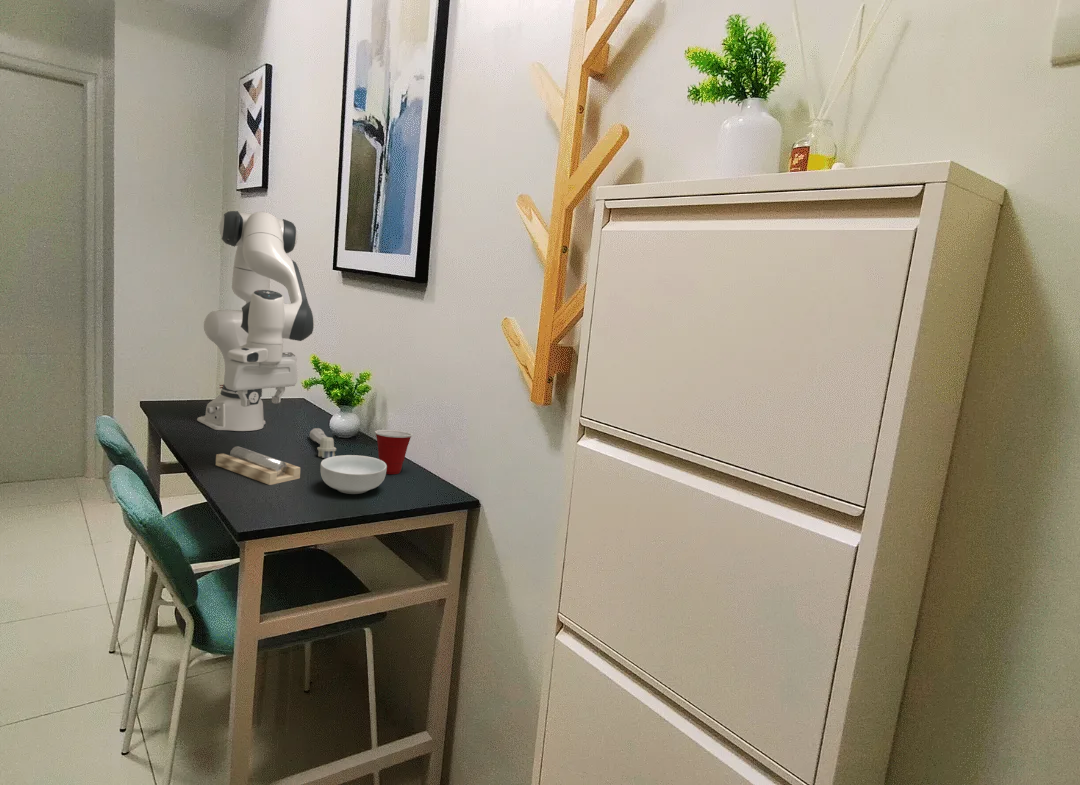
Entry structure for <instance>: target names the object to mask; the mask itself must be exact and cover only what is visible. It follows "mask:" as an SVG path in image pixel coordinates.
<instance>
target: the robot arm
mask: <svg viewBox="0 0 1080 785" xmlns="http://www.w3.org/2000/svg"><path fill="white" fill-rule="evenodd" d="M218 227H219V228H218V230H219V234H220V237H221V240H222V241H223V243H224V244H226V245H229V246H231V247H236V251H235V255H234V261H233V268H232V269H233V270H232V271H233V272H232V280H231V289H232V292H233V293H234V295H235V296H237V297H238V298H240V299H241V300H243V301H244V302H245V304H244V305H243V306H242V307H241V310H240V309H220V310H219V309H218V310H214V311H213V310H212V311H210V312H208V314H207V315H206V317H205V319H204V322H203V332H204V334H205V336H206V337H207V338H208V339H209V340H210V341H211V342H213V344H215V346H217V348H218V349H219V350H220V352H221V355H222V357H223V361H224V377H223V384H219V389H221V390H220V392H219V393H220V394H219V395H218V396H216V397H215V398H214V399H212V400H210V401H209V402H208V403H207V404H206V407H205V415H201V416H199V417H197V419H196V421H198V422H199V423H201V424H203V425H205V426H207V427H209V428H211V429H212V430H215V431H235V432H250V431H258V430H261V429H263V428H265V426H264V425H266V420H265V419H264V403H263V400H262V399H261V397H262V396H263V389H272V388H275V390H276V391H275V393H274V395H272V396H271V403H273V404H280V403H281V399H282V397H283V394H285V391H286V388H287V387H294V386H296V385H297V383H298V366H297V360H298V359H297V358H298V357H297V356H296V355H295V354H294V353H293V352H289V351H288V352H283V348H284V339H288V340H292V341H297V342H302V341H304V340H306V339H307V338H308V337H310V336H311V335H312V334H313V331H314V327H315V318H314V314H313V311H312V308H311V307H310V305H309V304H310V303H309V301H308V297H307V293H306V290H305V286H304V283H303V279H302V275H301V272H300V269H299V267H298V264H297V262H296V261H295V260H293V259H292V258H290V256H289V255H288V254H289V253H291V252H293V251H294V248H295V247H296V246H297V243H298V232H297V228H296V225H295V223H294V222H292V221H290V220H287V219H283V218H282V219H281V218H278V217H276V216H274V215H273V213H270V212H268V211H266V212H265V211H257V212H254V213H252V212H251V213H250V212H239V211H238V210H229V211H226V212H225V213H224V214H223V216H222V217H221V219H220V222H219V226H218ZM271 280H272V281H275V282H277V283H279V284H281V285H282V286H284V287H285V288H286V290H287V293H288V297H289V301H290V303H285V298H284V295H283V294H282V293H280V292H278V291H275V290H270V282H271Z"/></svg>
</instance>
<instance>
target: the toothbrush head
mask: <svg viewBox="0 0 1080 785" xmlns="http://www.w3.org/2000/svg"><path fill="white" fill-rule="evenodd" d="M308 436H309V438H310V439H311V440H312V441H313V442H315V443H318V445H319V446H318V447H317V449H316V450H317V452H318V453H317V457H319V458H322V459H323V458H324V459H326V458H329V457H333V456H336V451H337V448H336V447H335V443H334V442H335V440H334V438H333V437H329V436H327V435H326V434H325V432H324V430H323V429H321V428H319V427H317V428H315V427H314V428H312V429H311V430H310V431H309V435H308Z"/></svg>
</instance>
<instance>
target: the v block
mask: <svg viewBox="0 0 1080 785" xmlns="http://www.w3.org/2000/svg"><path fill="white" fill-rule="evenodd" d="M284 462H285V463H286V465H287V469H286V472H285V473H284V474H283V475H282V476H277V472H274V471H272V470H269V469H266V468H263V467H260V466H257V465H255V464H252V463H249V462H246V461H243V460H240V459H238V458H235V457H232V456H230V454H226V453H223V452H222V453H218V454H217V453H216V454H215V466H217V467H219V468H223V469H225V470H227V471H231V472H233V473H236V474H239V475H241V476H244V477H247V478H249V479H252V480H255V481H258V482H260V483H262V484H266V485H269V486H272V485H277V484H280V483H286V482H289V481H290V482H291V481H293V480H298V479H300V478H301V467H300V466H297V465H294V464H292V463H289V462H286V461H284Z"/></svg>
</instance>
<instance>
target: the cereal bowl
mask: <svg viewBox="0 0 1080 785" xmlns="http://www.w3.org/2000/svg"><path fill="white" fill-rule="evenodd" d="M319 469H320V470H319V471H320V477H321V478H322V480H323V482H324V484H326V485H327V486H329V488H332V489H333V490H337V491H338V492H340V493H343V494H349V495H358V494H363V493H367V492H368V491H371V490H373V489H376V488H377V487H379V486H380V485H381V484H382V483H383V482H384V480H385V477H386V475H387V474H386V470H387V465H386V464H385V462H383V461H381V460H379V458H376V457H372V456H367V455H360V454H359V455H357V454H356V455H355V454H353V455H352V454H346V455H345V454H344V455H335V456H333V457H329V458H324V459H322V460H321V462H320V466H319Z"/></svg>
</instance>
